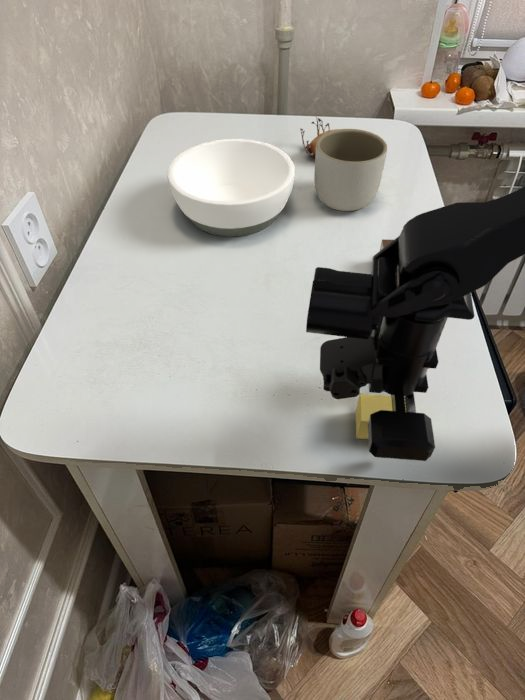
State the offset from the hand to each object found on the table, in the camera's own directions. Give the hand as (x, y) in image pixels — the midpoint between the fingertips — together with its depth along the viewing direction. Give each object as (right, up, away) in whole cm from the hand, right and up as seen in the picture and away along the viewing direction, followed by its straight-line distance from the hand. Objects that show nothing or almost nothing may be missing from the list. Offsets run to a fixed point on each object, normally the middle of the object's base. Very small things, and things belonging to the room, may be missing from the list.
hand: (382, 420), depth 62 cm
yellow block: (0, -1, +1) cm, 1 cm away
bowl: (-20, +35, +33) cm, 52 cm away
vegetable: (+2, +51, +46) cm, 69 cm away
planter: (+1, +38, +35) cm, 51 cm away
